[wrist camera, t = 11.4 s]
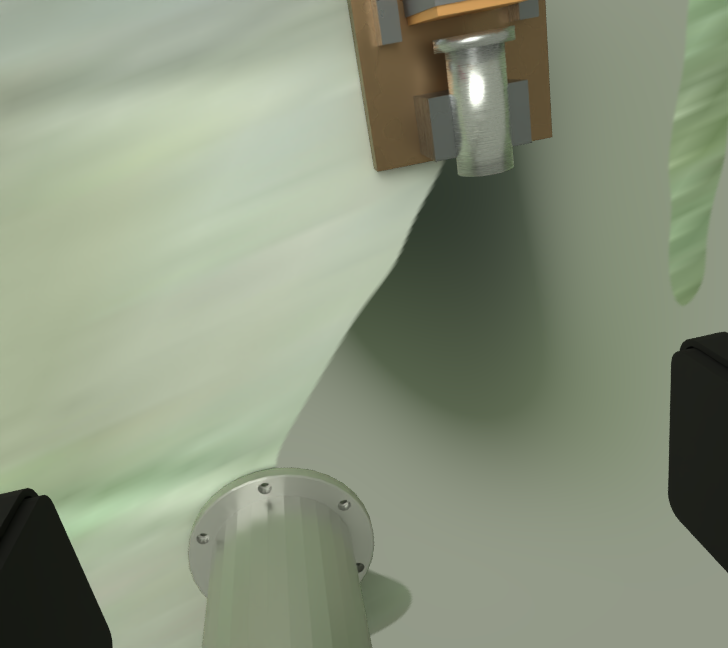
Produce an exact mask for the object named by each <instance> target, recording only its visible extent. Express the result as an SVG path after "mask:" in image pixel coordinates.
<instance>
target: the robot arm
mask: <svg viewBox="0 0 728 648" xmlns="http://www.w3.org/2000/svg"><path fill="white" fill-rule="evenodd" d="M669 439H670V440H669V480H668V497H669V501H670V505H671V508H672V510H673V512H674V514H675V516H676V517H677V518H678V519H679V521H680V522H681V523H682V524H683V525H684V526H685V527H686V528H687V529H688V530H689V531H690V533H691V534H692V535H693V536H694V537H695V538H696V539H697V540H698V541H699V542H700V543H701V544H702V545H703V547H704V548H706V550H707V551H708V552H709V553H710V554H711V555H712V556H713V557H714V558H715V560H716V561H717V562H718V563H719V564H720V565H721V566H722V567H723V568H724V569H725V570H726V571H727V572H728V333H727V332H719V333H715V334H711V335H706V336H701V337H697V338H692V339H688V340H686V341H685V342H683V343H682V345H681V348H680V351H678V352H676V353H675V354H674V355H673V357H672V362H671V396H670V438H669ZM373 550H374V536H373V529H372V525H371V521H370V518H369V515H368V513H367V511H366V509H365V507H364V504H363V503H362V502H361V501H360V499H359V498H358V497H357V495H356V494H355V493H354V492H353V491H352V490H350V489H349V488H348V487H347V486H346V485H344V484H343V483H342V482H339V481H337V480H336V479H334V478H332V477H330V476H328V475H326V474H322V473H319V472H316V471H313V470H307V469H300V468H274V469H269V470H263V471H258V472H255V473H252V474H249V475H247V476H244V477H241V478H239V479H237V480H235V481H234V482H232V483H230V484H228V485H227V486H225V487H223V488H222V489H221V490H220V491H219V492H217V493H216V494H215V495H214V496H213V497H211V498H210V500H209V501H208V502H207V503H206V504H205V506H204V507H203V508H202V509H201V511H200V513H199V514H198V516H197V518H196V520H195V522H194V524H193V528H192V531H191V535H190V540H189V549H188V560H189V569H190V571H191V574H192V577H193V580H194V582H195V583H196V585H197V586H198V588H199V590H200V591H201V593H202V594H203V595H204V596H205V597H206V598H207V605H206V614H205V623H204V632H203V642H202V648H372V644H371V639H370V634H369V628H368V623H367V618H366V613H365V607H364V602H363V597H362V591H361V586H360V582H361V581H362V579H363V578H364V576H365V574H366V573H367V571H368V568H369V566H370V563H371V560H372V557H373ZM0 648H113V647H112V637H111V633H110V630H109V628H108V625H107V623H106V621H105V619H104V616H103V614H102V612H101V610H100V607H99V605H98V603H97V601H96V598H95V596H94V594H93V592H92V589H91V587H90V585H89V583H88V580H87V578H86V576H85V574H84V571H83V569H82V567H81V565H80V563H79V560H78V558H77V556H76V554H75V551H74V549H73V547H72V545H71V542H70V540H69V538H68V536H67V533H66V531H65V529H64V527H63V524H62V522H61V520H60V518H59V515H58V513H57V511H56V509H55V506H54V504H53V502H52V501H51V499H50V498H49V497H48V496H46V495H41V496H38V495H37V493H36V492H35V491H34V490H33V489H29V488H26V489H21V490H17V491H13V492H8V493H4V494H0Z"/></svg>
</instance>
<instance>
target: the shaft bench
mask: <svg viewBox="0 0 728 648" xmlns="http://www.w3.org/2000/svg"><path fill="white" fill-rule="evenodd" d="M347 3H348V9H349V15H350V21H351V28H352V34H353V40H354V46H355V53H356V59H357V65H358V71H359V78H360V84H361V90H362V96H363V103H364V109H365V115H366V121H367V128H368V134H369V140H370V146H371V153H372V159H373V165H374V169H375V170H376V171H377V172H378V171H383V170H388V169H393V168H398V167H403V166H408V165H414V164H419V163H424V162H429V161H441V160H446V159H451V158H456V161H457V170H458V175H460V176H465V177H476V176H486V175H493V174H498V173H501V172H505V171H508V170H510V169H512V168H513V167H514V160H513V146H517V145H522V144H526V143H531V142H532V141H535V140H540V139H545V138H550V137H552V125H551V124H552V123H551V103H550V86H549V85H550V84H549V64H548V45H547V26H546V5H545V0H527V1H523V2H520V3H516V4H512V5H508V6H505V7H501V8H497V9H494V10H488V11H483V12H478V13H473V14H467V15H462V16H457V17H452V18H447V19H441V20H436V21H431V22H426V23H420V24H415V25H410V26H408V21H407V17H406V18H405V13H404V6H403V0H347Z"/></svg>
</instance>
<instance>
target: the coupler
mask: <svg viewBox="0 0 728 648" xmlns="http://www.w3.org/2000/svg"><path fill="white" fill-rule="evenodd" d="M523 1H527V0H403V6H404V13H405V18H406V17H407V21H408V26H410V25H415V24H420V23H426V22H431V21H436V20H441V19H447V18H452V17H457V16H462V15H467V14H473V13H478V12H483V11H488V10H494V9H497V8H501V7H505V6H508V5H512V4H516V3H520V2H523Z"/></svg>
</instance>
